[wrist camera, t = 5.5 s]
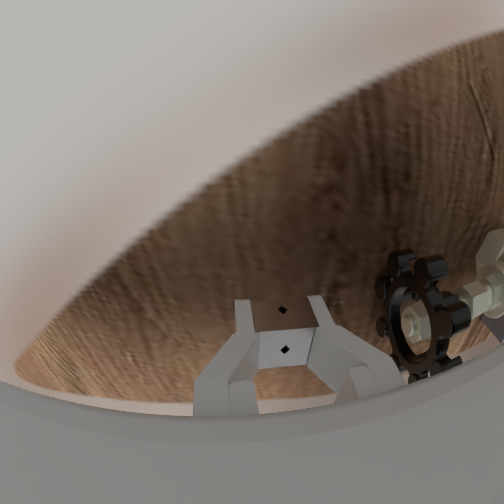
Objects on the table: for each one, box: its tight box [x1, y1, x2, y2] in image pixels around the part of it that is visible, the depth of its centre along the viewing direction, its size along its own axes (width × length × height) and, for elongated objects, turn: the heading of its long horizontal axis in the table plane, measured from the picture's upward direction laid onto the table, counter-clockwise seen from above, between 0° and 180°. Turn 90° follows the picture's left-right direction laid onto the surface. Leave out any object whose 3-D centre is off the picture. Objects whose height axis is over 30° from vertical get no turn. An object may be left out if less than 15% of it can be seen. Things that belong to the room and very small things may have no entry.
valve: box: [375, 228, 504, 384], centre depth 10 cm, size 7×7×12 cm
